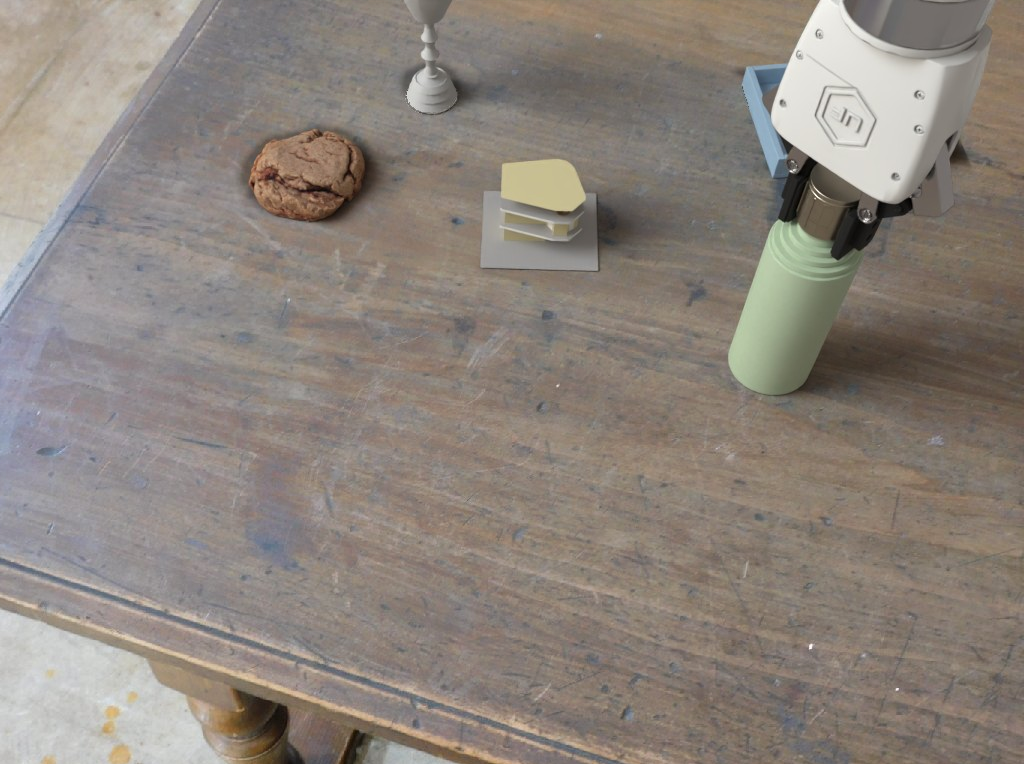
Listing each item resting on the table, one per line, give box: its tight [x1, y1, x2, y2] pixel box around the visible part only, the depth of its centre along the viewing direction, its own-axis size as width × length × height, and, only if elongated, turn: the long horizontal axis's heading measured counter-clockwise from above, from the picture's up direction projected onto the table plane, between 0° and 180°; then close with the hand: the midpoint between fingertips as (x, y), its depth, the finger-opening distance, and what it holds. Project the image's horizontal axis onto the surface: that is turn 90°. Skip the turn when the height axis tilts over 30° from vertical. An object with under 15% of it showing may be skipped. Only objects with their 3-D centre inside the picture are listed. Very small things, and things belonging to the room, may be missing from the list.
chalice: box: [403, 0, 458, 113], centre depth 95 cm, size 7×7×18 cm
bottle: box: [727, 217, 865, 396], centre depth 77 cm, size 6×6×20 cm
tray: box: [741, 62, 789, 179], centre depth 98 cm, size 15×12×2 cm
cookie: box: [248, 128, 366, 222], centre depth 96 cm, size 10×11×3 cm
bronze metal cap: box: [796, 163, 862, 241], centre depth 70 cm, size 4×4×4 cm
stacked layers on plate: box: [479, 158, 599, 272], centre depth 91 cm, size 10×9×6 cm
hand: (822, 227), depth 72 cm, fingers closed on bronze metal cap, 3 cm apart
